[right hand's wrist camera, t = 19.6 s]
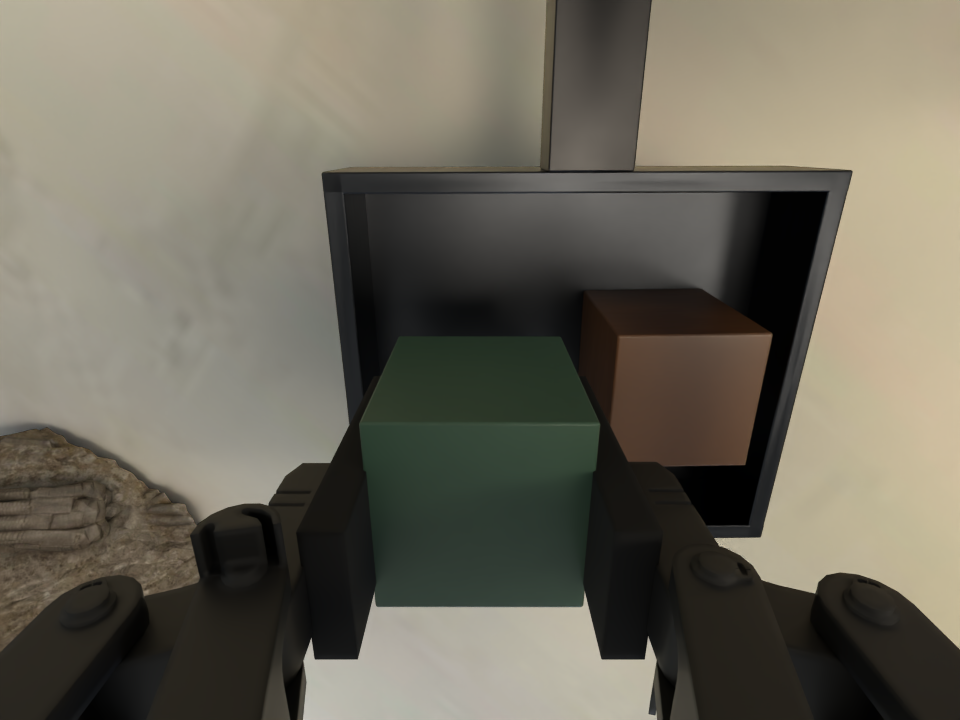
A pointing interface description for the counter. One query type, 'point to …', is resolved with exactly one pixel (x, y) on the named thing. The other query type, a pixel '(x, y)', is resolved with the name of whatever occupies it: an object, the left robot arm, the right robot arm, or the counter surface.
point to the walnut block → (674, 373)
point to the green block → (479, 473)
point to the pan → (588, 242)
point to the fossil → (80, 527)
